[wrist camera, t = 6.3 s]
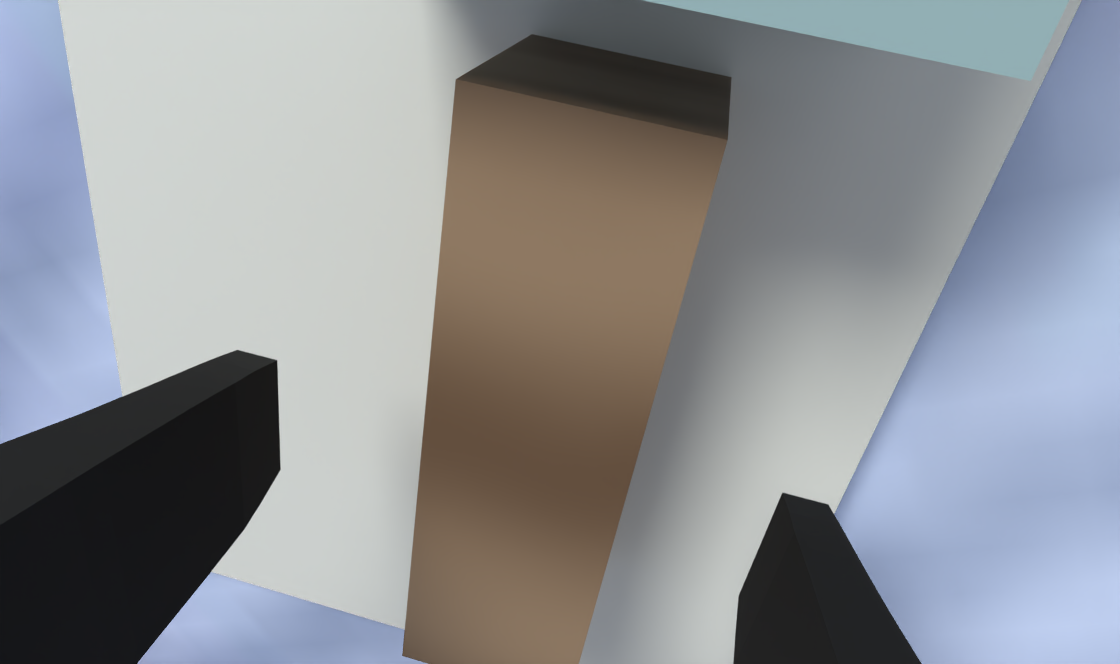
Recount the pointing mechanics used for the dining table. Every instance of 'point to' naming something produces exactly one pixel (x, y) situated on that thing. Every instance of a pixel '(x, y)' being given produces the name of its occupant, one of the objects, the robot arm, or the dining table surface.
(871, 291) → the board
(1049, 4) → the teal block
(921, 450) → the dining table surface
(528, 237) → the slat
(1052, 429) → the dining table surface
